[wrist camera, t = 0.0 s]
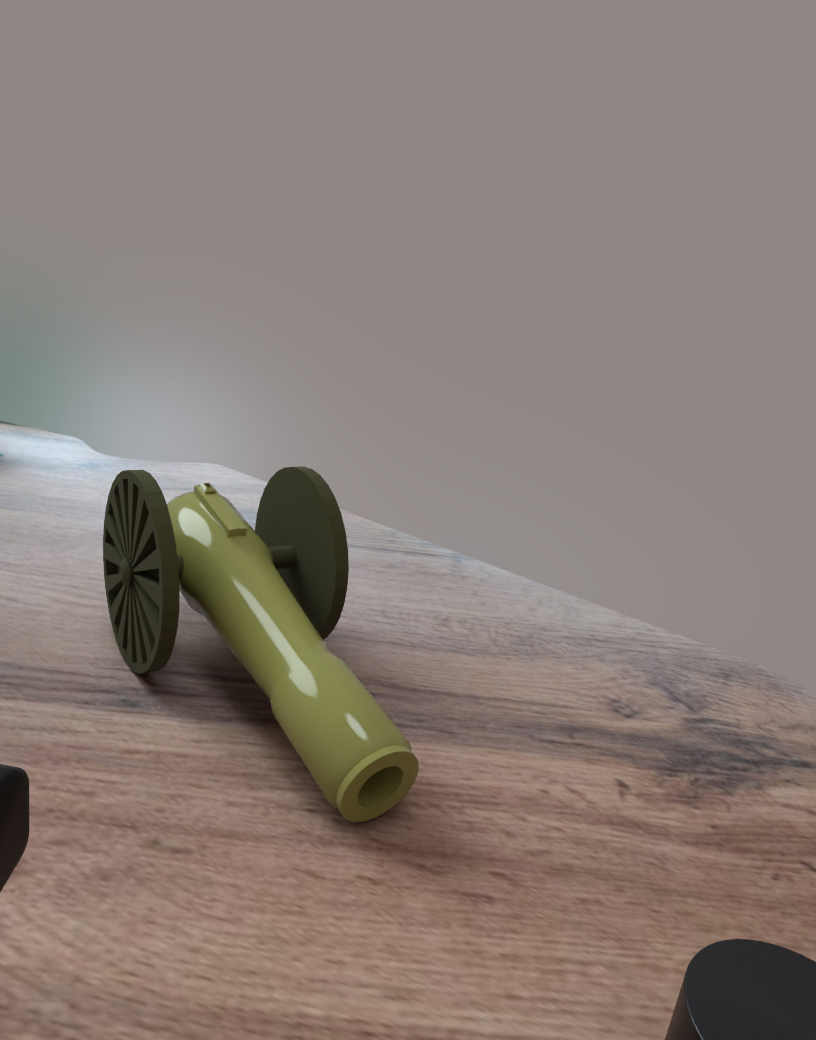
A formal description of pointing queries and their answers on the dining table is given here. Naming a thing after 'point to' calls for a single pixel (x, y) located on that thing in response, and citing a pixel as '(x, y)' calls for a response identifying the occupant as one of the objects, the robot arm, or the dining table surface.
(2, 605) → the dining table surface
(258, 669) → the cannon
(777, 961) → the grey tin
